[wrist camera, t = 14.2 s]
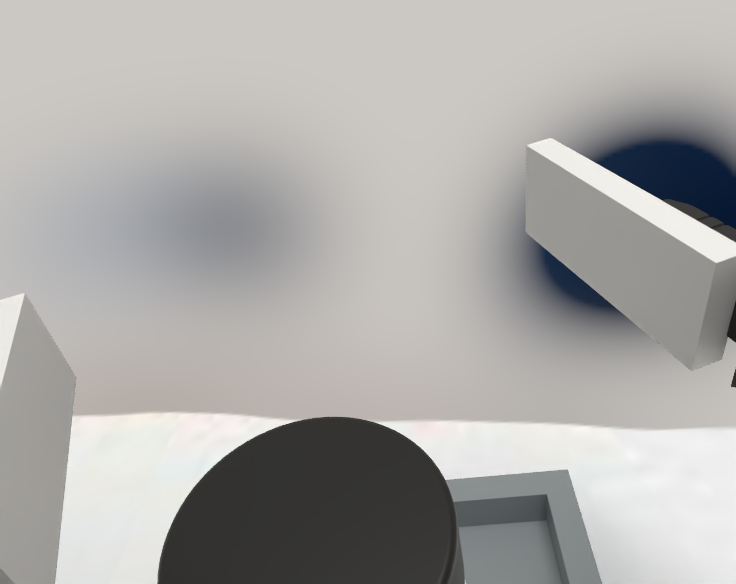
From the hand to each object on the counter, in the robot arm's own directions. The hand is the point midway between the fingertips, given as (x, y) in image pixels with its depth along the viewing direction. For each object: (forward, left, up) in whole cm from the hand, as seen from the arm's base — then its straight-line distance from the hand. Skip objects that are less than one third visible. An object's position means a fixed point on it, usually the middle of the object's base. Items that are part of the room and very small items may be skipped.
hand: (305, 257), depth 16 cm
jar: (-1, -4, -18) cm, 19 cm away
